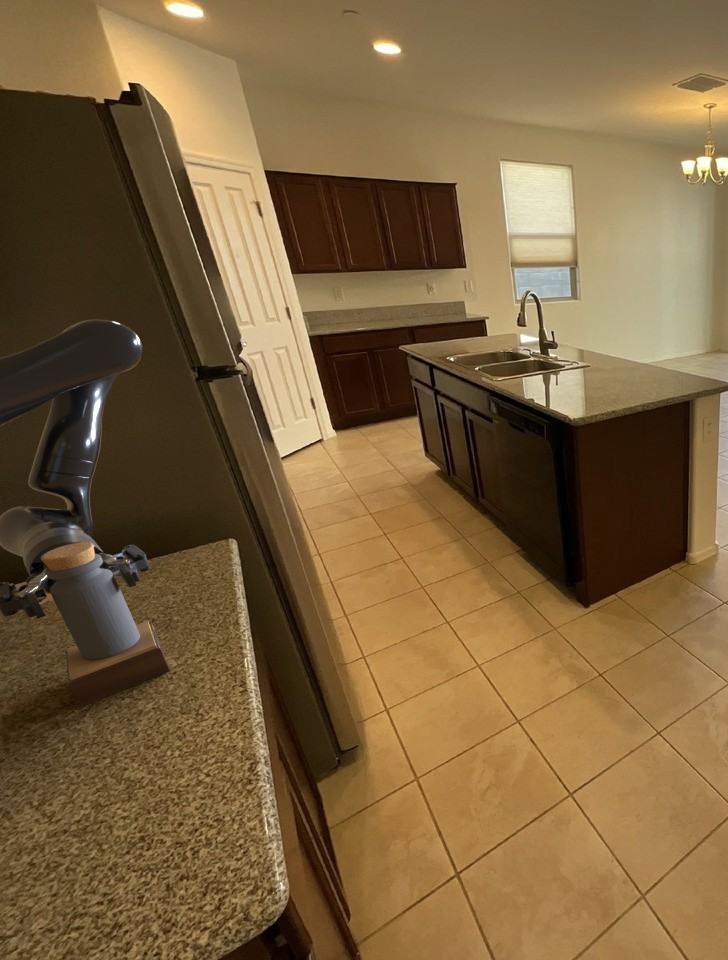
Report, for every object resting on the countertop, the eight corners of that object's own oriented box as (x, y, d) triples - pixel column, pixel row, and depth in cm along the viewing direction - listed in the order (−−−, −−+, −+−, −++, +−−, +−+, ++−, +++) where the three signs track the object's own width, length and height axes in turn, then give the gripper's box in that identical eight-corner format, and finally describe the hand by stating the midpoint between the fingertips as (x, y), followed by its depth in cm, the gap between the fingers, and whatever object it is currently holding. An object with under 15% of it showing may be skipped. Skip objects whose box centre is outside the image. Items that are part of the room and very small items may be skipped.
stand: (77, 674, 73) (63, 648, 71) (160, 643, 79) (150, 618, 78) (80, 707, 67) (65, 680, 66) (170, 670, 73) (158, 645, 72)
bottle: (71, 656, 70) (21, 558, 64) (123, 629, 75) (80, 537, 70) (100, 664, 68) (52, 565, 63) (151, 636, 73) (110, 542, 68)
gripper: (-23, 555, 70) (-11, 595, 60) (119, 518, 80) (148, 547, 71) (2, 603, 72) (17, 648, 63) (137, 560, 83) (167, 594, 74)
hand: (86, 594), depth 67 cm, fingers open, 8 cm apart
